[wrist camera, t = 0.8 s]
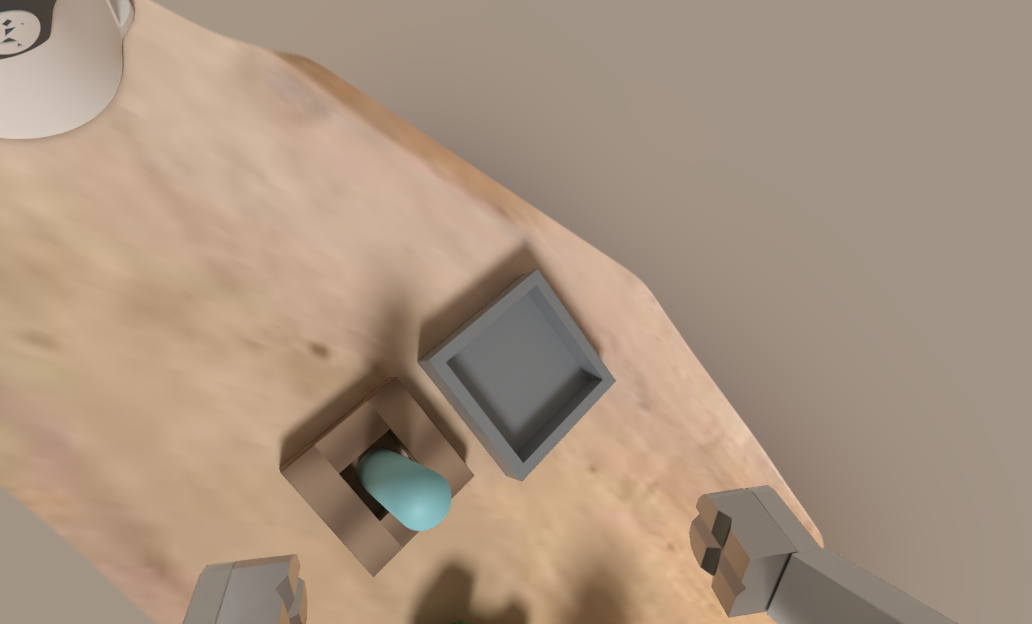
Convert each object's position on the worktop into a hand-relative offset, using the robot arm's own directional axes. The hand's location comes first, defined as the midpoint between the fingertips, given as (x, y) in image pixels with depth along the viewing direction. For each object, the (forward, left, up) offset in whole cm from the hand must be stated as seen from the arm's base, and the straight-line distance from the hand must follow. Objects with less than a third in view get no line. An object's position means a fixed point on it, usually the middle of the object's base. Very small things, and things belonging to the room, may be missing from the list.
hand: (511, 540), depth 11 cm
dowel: (+8, +2, -41) cm, 41 cm away
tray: (+10, +18, -41) cm, 46 cm away
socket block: (+8, +2, -41) cm, 41 cm away
